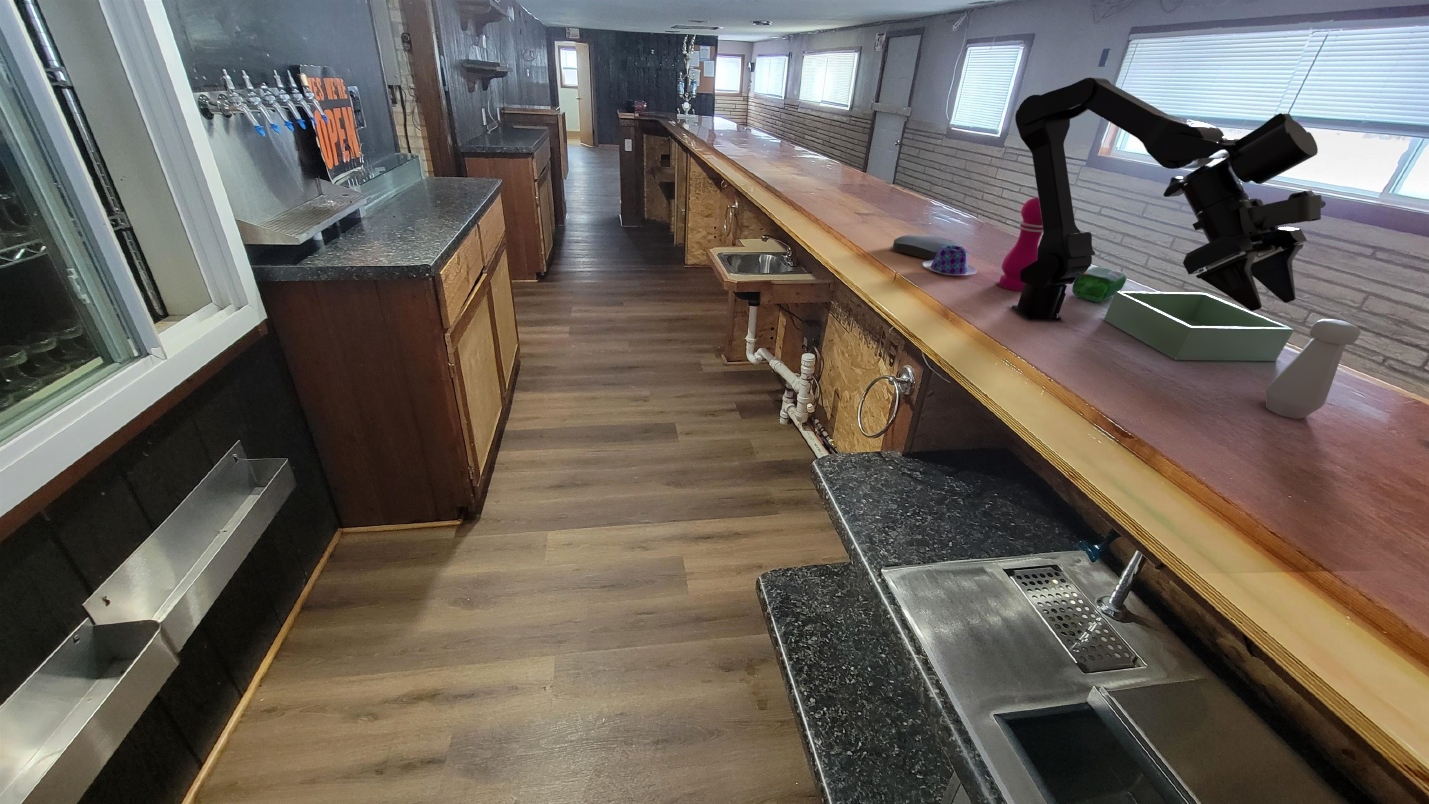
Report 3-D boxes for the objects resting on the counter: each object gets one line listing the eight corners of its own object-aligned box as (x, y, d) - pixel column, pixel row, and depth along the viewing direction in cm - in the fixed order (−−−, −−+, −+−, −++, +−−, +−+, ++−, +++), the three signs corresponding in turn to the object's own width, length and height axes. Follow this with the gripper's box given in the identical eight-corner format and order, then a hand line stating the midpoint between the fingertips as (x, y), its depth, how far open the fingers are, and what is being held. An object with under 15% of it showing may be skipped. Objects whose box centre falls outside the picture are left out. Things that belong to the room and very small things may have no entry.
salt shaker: (1299, 405, 79) (1356, 318, 72) (1323, 425, 74) (1385, 334, 68) (1249, 397, 80) (1300, 311, 74) (1269, 417, 76) (1325, 326, 69)
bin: (1175, 360, 91) (1191, 327, 88) (1103, 319, 106) (1115, 291, 103) (1275, 361, 92) (1294, 329, 89) (1190, 321, 107) (1204, 292, 105)
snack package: (1125, 293, 121) (1135, 269, 119) (1100, 307, 112) (1110, 282, 110) (1089, 285, 126) (1098, 261, 123) (1062, 298, 117) (1071, 273, 114)
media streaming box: (886, 250, 145) (888, 238, 144) (915, 242, 154) (917, 231, 152) (938, 263, 136) (941, 251, 135) (966, 254, 145) (969, 242, 143)
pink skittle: (1034, 285, 123) (1066, 189, 113) (1030, 294, 118) (1063, 194, 108) (999, 279, 127) (1026, 185, 117) (993, 287, 121) (1022, 189, 111)
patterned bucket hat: (951, 261, 138) (956, 240, 135) (987, 276, 128) (994, 253, 126) (911, 265, 134) (915, 242, 131) (945, 280, 124) (951, 256, 122)
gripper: (1255, 169, 68) (1319, 284, 65) (1326, 166, 76) (1386, 269, 73) (1159, 222, 78) (1211, 324, 75) (1230, 214, 86) (1279, 307, 83)
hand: (1274, 305), depth 76 cm, fingers open, 9 cm apart
